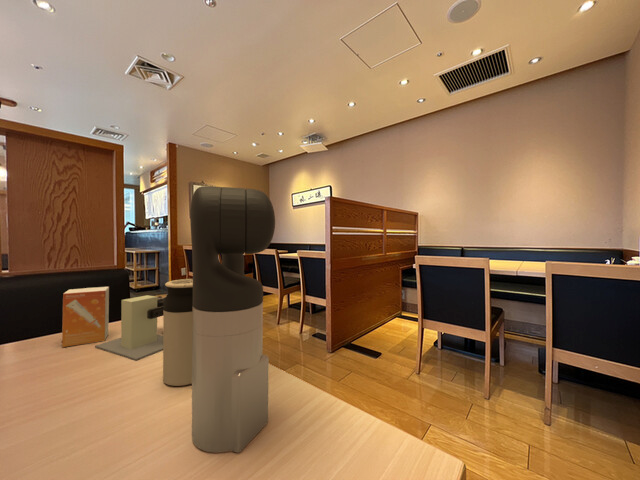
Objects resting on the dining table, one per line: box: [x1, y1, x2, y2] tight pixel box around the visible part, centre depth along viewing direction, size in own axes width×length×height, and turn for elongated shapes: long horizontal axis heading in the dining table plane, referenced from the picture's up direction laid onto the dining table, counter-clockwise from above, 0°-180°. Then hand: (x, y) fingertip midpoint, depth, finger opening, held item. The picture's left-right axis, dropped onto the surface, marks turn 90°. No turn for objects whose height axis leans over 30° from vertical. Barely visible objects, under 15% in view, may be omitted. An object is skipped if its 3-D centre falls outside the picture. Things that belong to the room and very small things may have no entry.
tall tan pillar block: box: [120, 294, 158, 349], centre depth 64 cm, size 4×6×11 cm, turn 155°
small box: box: [61, 286, 110, 348], centre depth 66 cm, size 8×6×13 cm
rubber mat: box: [94, 334, 163, 362], centre depth 64 cm, size 16×11×1 cm
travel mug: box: [162, 278, 193, 387], centre depth 49 cm, size 8×8×18 cm
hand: (137, 312), depth 63 cm, fingers open, 8 cm apart
